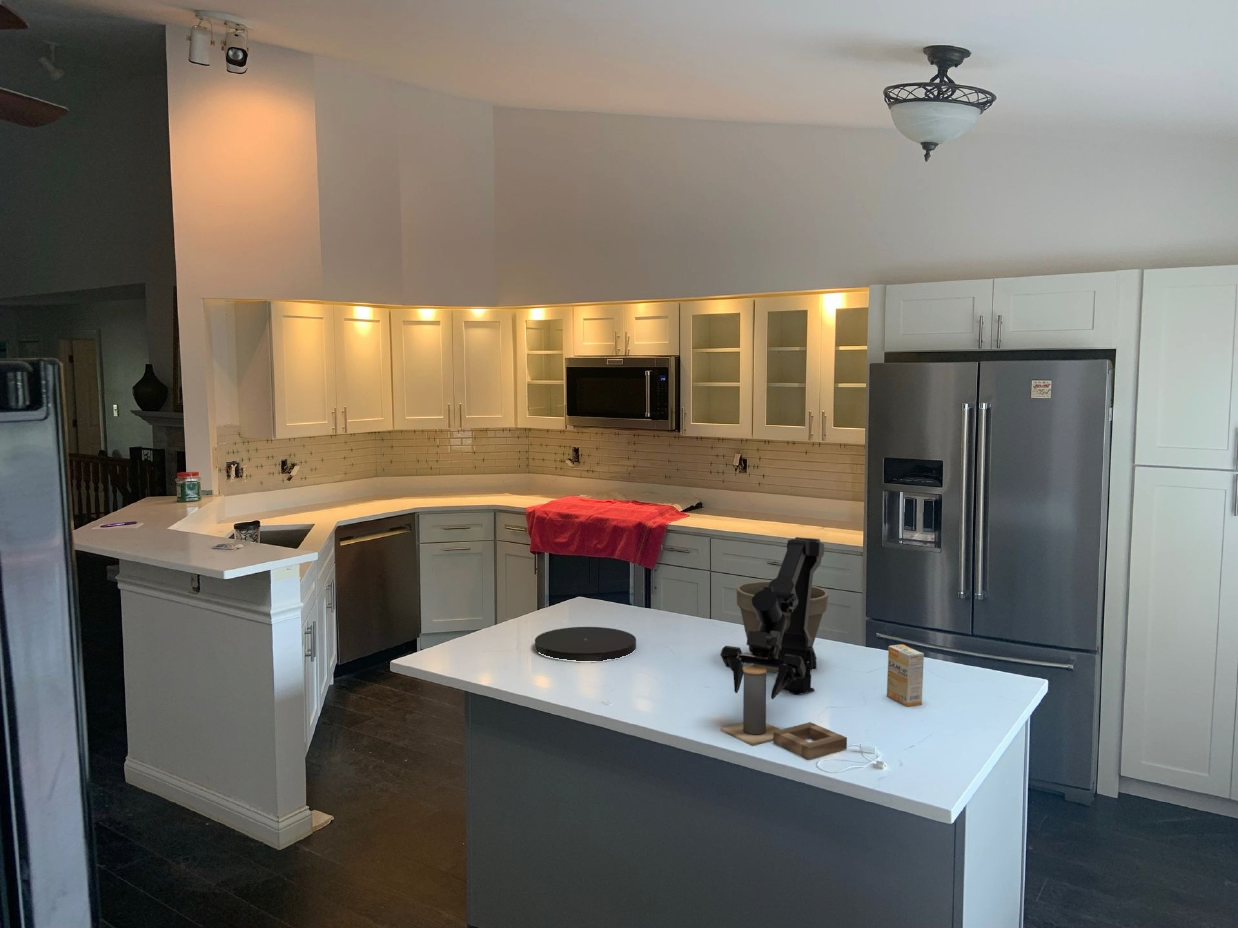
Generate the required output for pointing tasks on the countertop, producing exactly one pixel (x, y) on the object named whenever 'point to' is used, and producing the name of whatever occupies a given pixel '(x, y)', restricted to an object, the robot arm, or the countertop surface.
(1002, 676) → the countertop surface
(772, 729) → the cork mat
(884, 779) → the countertop surface
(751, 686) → the plug
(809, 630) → the plant pot
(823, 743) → the wooden square frame
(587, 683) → the countertop surface
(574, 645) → the disc
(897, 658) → the supplement box
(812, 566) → the robot arm
